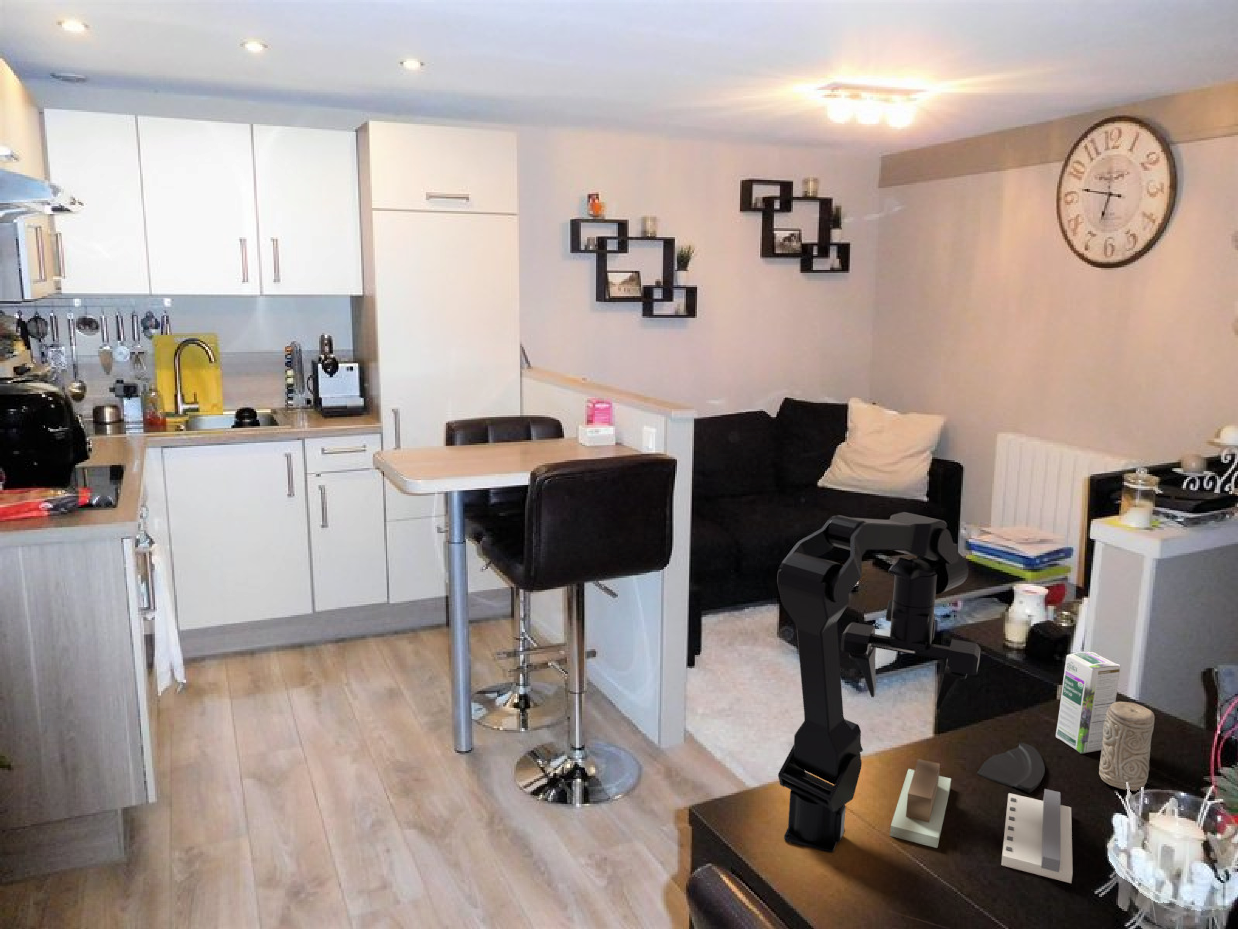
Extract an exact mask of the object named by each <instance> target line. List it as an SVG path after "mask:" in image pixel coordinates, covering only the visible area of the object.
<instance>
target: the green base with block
mask: <svg viewBox="0 0 1238 929" xmlns="http://www.w3.org/2000/svg"><path fill="white" fill-rule="evenodd" d="M915 765H916V766H915V768H914V769H911V768H908V770H907V771H906V772H907V773H906V775H905V779H904V782H903V785H902V788H901V791H900V794H899V798H898V801H897V805H896V808H895V810H894V811H895V812H894V813H893V817H892V819H891V820H892V821H891V824H890V832H889V836H890V837H893V838H897V839H899V840H900V839H901V840H905V841H909V842H912V843H916V844H918V845H919V844H920V845H924V846H928V847H931V848H936V849H937V848H938V846H939V844H940V843H939V841H940V837H941V833H942V828H943V823H944V819H945V816H946V815H945V814H946V810H947V804H948V799H949V796H950V792H951V791H950V790H951V784H952V778H950V777H945V776H941V775H940V767H941V763H938V762H933V761H929V760H925V759H921V758H917V761H916V764H915Z"/></svg>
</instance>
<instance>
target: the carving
mask: <svg viewBox="0 0 1238 929" xmlns="http://www.w3.org/2000/svg"><path fill="white" fill-rule="evenodd" d="M1154 727H1155V713H1154V712H1153V711H1152V710H1151V709H1149V708H1146V707H1145V706H1143V705H1141V704H1138V703H1136V702H1127V701H1115V703H1113V704H1111V706H1110V707H1109V708H1108V711H1107V712H1106V718H1105V722H1104V727H1103V741H1102V744H1103V746H1102V750H1100V751H1101V752H1100V759H1099V760H1100V761H1099V767H1098V768H1099V771H1098V774H1099V777H1100V778H1101V780H1102V781H1103V782H1104V783H1105V784H1108V785H1109V786H1112V787H1115V788H1118V789H1121V790H1125V791H1127V790H1126V782H1129V786H1130V789H1131V792H1132V791H1133V792H1138V791H1137V790H1139V788H1140V787H1144V788H1145V785H1146V784H1147V782H1148V778H1149V771H1150V757H1151V753H1150V752H1151V742H1152V735H1153V732H1154Z"/></svg>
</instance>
